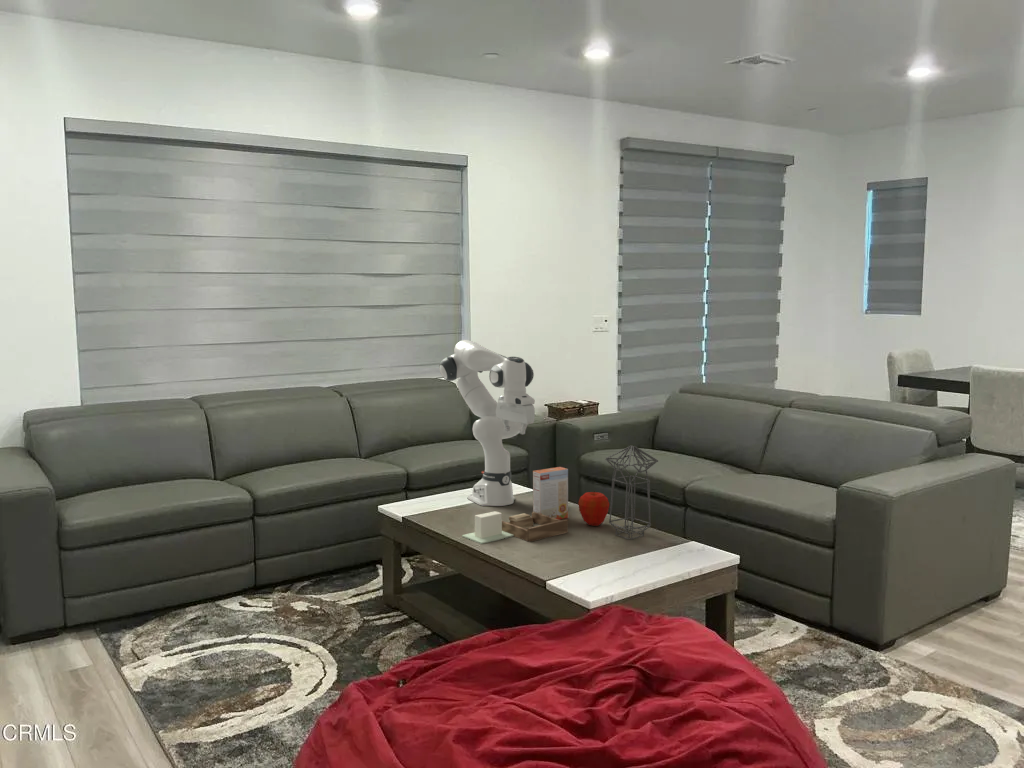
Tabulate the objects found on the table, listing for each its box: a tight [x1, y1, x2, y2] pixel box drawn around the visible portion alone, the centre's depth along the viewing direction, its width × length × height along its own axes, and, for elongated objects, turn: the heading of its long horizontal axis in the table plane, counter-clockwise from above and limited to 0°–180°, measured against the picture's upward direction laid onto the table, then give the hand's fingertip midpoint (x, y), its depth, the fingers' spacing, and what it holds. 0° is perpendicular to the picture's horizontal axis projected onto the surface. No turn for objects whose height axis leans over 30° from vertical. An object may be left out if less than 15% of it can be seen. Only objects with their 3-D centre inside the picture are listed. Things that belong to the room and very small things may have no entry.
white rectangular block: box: [474, 510, 503, 538], centre depth 329 cm, size 4×10×8 cm, turn 129°
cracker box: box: [532, 466, 569, 520], centre depth 352 cm, size 14×6×21 cm, turn 122°
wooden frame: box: [502, 511, 569, 543], centre depth 336 cm, size 20×20×5 cm
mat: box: [461, 531, 514, 545], centre depth 329 cm, size 12×16×1 cm
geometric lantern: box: [605, 445, 659, 540], centre depth 329 cm, size 16×16×35 cm
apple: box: [577, 491, 611, 527], centre depth 344 cm, size 12×12×14 cm
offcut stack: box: [508, 512, 534, 529], centre depth 341 cm, size 4×10×5 cm, turn 132°
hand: (514, 432), depth 343 cm, fingers open, 8 cm apart
